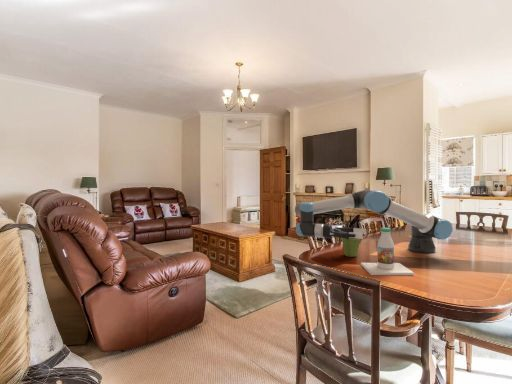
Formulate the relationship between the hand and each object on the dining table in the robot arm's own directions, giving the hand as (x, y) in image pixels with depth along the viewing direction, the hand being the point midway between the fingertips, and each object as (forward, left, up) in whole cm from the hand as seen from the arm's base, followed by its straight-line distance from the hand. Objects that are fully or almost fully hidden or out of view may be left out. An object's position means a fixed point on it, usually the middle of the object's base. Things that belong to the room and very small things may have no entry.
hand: (364, 233), depth 146 cm
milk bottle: (-9, +4, -17) cm, 20 cm away
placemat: (-9, +4, -18) cm, 20 cm away
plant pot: (+1, -23, -18) cm, 29 cm away
